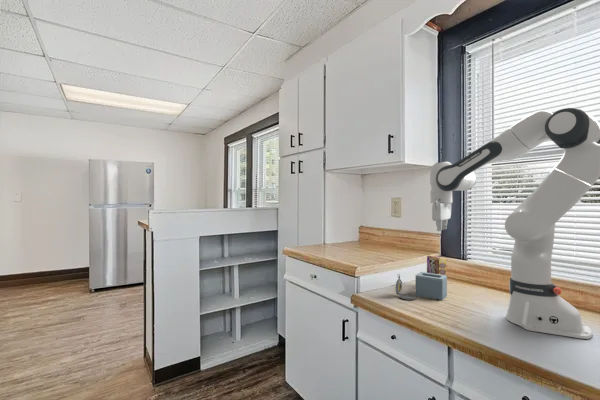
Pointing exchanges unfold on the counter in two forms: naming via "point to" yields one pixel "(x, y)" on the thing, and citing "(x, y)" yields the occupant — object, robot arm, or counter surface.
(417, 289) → the blue grey rectangular container
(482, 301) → the counter surface
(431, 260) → the candy box
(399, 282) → the pocket watch
